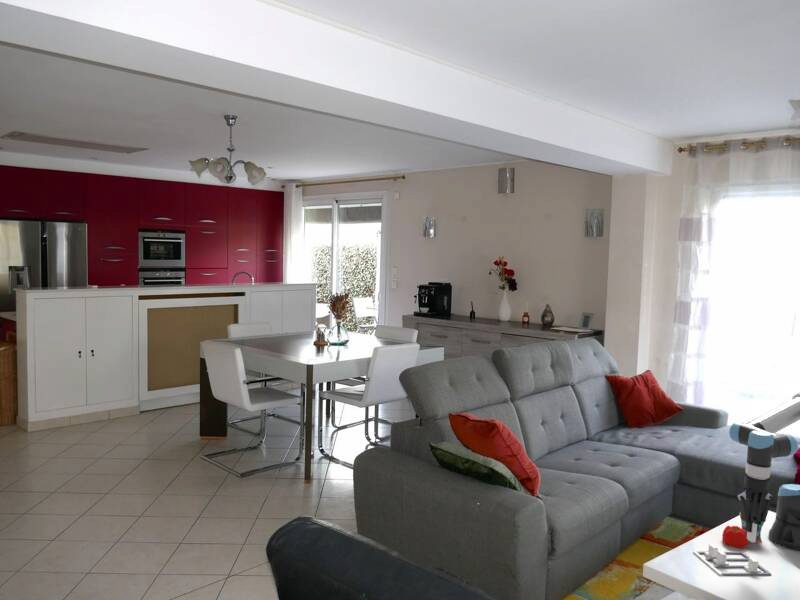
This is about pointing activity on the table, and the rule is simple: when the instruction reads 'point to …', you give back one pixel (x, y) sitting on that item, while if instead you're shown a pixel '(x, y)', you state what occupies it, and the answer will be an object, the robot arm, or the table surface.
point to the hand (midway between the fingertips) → (751, 540)
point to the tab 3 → (752, 566)
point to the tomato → (735, 537)
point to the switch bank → (731, 565)
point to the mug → (758, 534)
